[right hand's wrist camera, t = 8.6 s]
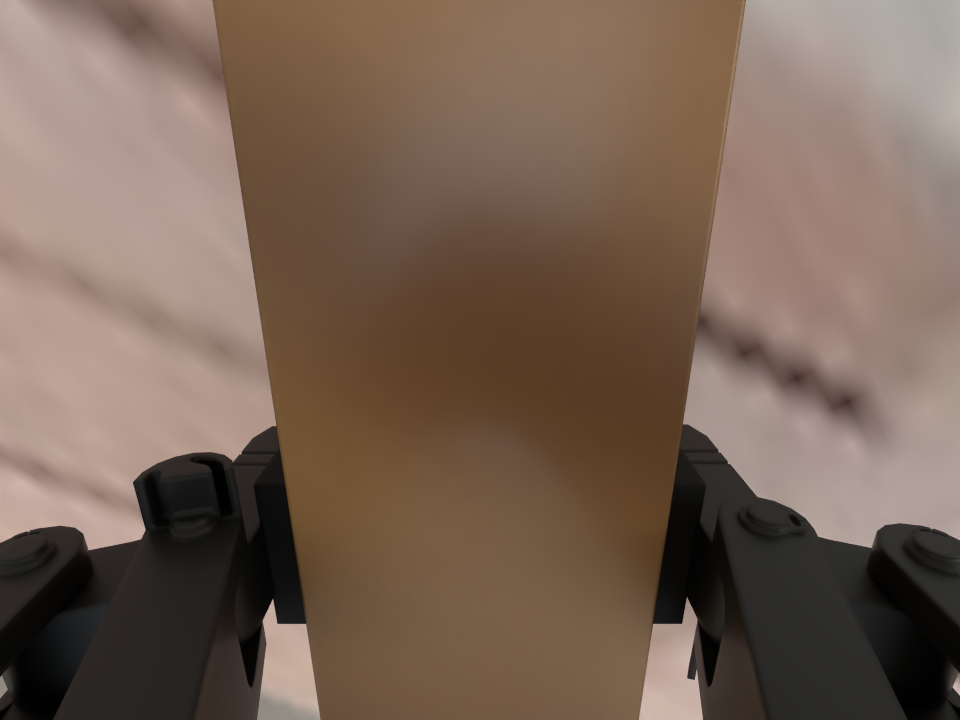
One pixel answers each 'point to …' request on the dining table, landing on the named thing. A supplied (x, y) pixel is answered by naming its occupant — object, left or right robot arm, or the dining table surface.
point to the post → (479, 329)
